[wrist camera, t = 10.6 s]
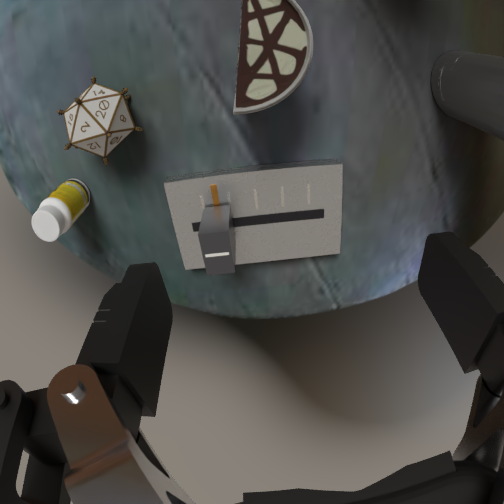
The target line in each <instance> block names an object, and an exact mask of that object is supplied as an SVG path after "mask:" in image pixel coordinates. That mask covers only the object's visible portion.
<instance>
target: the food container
mask: <svg viewBox="0 0 504 504" xmlns="http://www.w3.org/2000/svg"><path fill="white" fill-rule="evenodd" d="M238 49H239V50H238V63H237V79H236V80H237V81H236V93H235V101H234V110H233V114H248V113H254V112H258V111H261V110H264V109H267V108H269V107H272V106H274V105H276V104H278V103H279V102H281V101H282V100H284V99H285V98H287V97H288V96H289V95H290V94H291V93H292V92H293V91H295V90H296V88H297V87H298V86H299V85H300V83H301V82H302V81H303V79H304V77H305V75H306V74H307V72H308V69H309V67H310V64H311V60H312V55H313V36H312V30H311V27H310V24H309V21H308V19H307V17H306V15H305V14H304V12H303V10H302V9H301V8H300V6H299V5H298V4H297V3H296V1H295V0H242V7H241V22H240V36H239V47H238Z"/></svg>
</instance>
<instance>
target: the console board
mask: <svg viewBox="0 0 504 504" xmlns="http://www.w3.org/2000/svg"><path fill="white" fill-rule="evenodd" d="M342 170H343V164H342V163H341V162H340V161H339V160H338V159H326V160H311V161H298V162H286V163H275V164H265V165H255V166H246V167H237V168H229V169H221V170H213V171H206V172H198V173H191V174H185V175H178V176H172V177H167V179H166V180H165V182H164V186H165V191H166V195H167V199H168V203H169V208H170V212H171V216H172V220H173V224H174V228H175V232H176V236H177V240H178V244H179V247H180V251H181V255H182V259H183V262H184V266H185V270H187V269H197V268H205V264H204V260H203V256H202V251H201V247H200V242H199V238H198V232H199V227H200V223H201V218H202V214H203V210H204V208H208V207H216V206H224V205H230V207H231V214H232V221H233V227H234V234H235V240H236V265H237V264H246V263H256V262H266V261H275V260H284V259H294V258H303V257H312V256H321V255H330V254H339V253H340V242H341V219H342Z"/></svg>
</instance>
